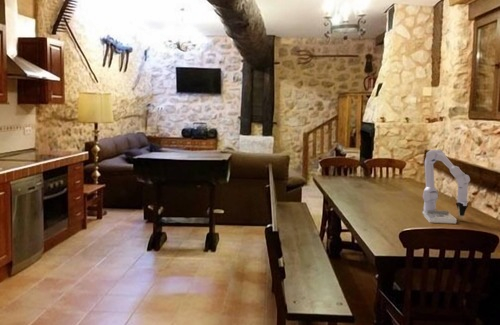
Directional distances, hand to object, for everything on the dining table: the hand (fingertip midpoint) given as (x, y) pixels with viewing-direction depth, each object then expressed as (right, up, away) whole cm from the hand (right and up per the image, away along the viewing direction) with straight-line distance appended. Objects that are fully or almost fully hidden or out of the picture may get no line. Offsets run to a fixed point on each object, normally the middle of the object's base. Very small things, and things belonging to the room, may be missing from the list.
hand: (461, 214), depth 310 cm
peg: (0, -2, 0) cm, 2 cm away
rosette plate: (-13, -3, +2) cm, 13 cm away
